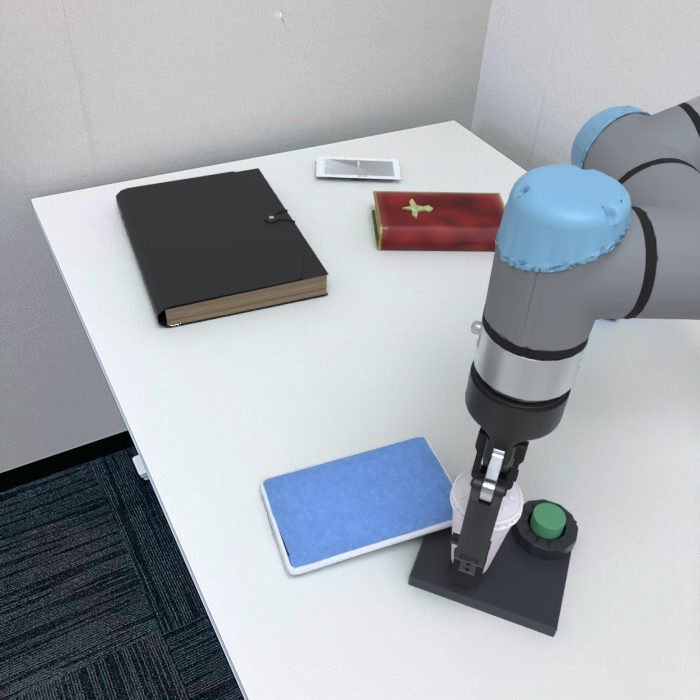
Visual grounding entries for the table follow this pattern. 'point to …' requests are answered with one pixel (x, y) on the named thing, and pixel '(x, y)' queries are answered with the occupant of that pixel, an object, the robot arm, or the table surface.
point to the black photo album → (217, 247)
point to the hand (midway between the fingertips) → (473, 551)
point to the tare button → (547, 521)
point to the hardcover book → (436, 220)
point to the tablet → (357, 503)
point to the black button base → (506, 573)
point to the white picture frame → (357, 167)
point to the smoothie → (506, 515)
